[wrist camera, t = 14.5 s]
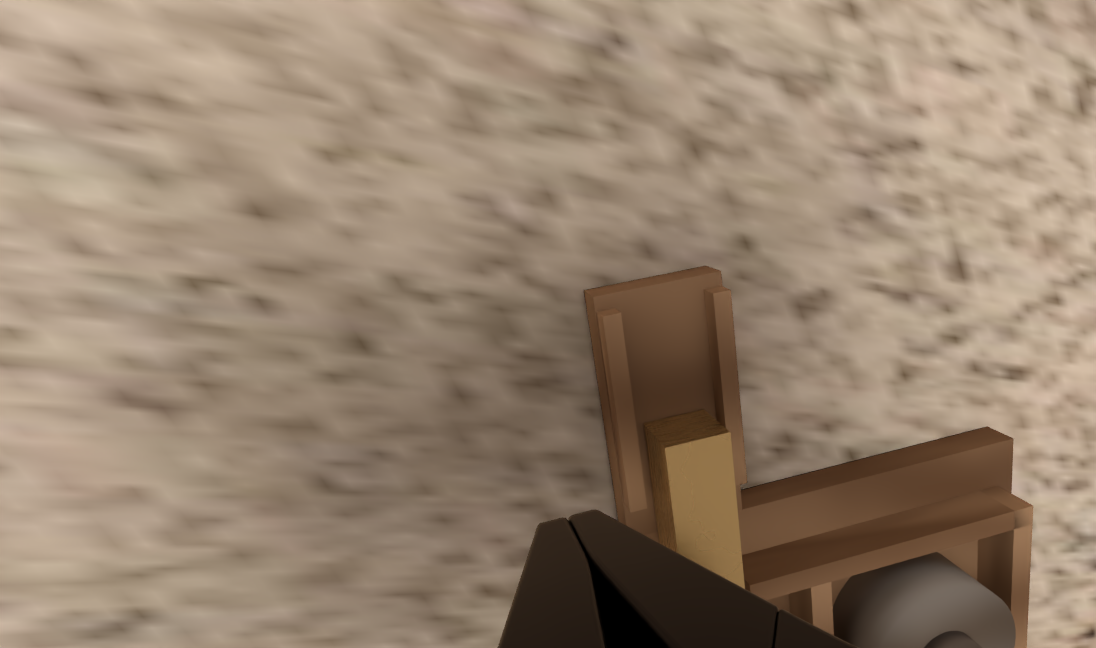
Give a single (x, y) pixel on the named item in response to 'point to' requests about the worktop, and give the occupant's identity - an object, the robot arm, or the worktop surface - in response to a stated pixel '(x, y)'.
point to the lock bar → (696, 491)
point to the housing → (820, 489)
